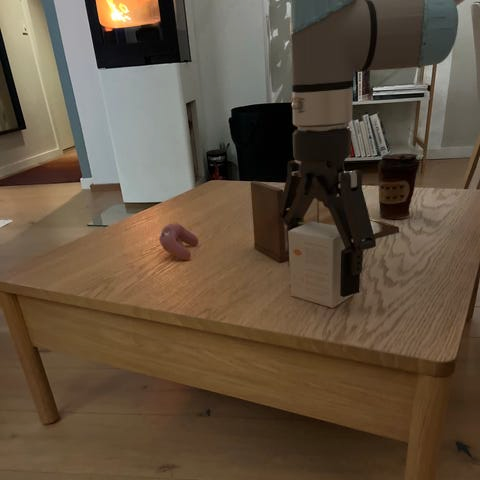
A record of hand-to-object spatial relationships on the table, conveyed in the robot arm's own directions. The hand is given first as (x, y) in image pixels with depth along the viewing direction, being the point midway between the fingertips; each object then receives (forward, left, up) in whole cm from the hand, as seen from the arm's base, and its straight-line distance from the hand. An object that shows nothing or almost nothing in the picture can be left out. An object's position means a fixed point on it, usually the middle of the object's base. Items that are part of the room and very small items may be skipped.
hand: (321, 278), depth 71 cm
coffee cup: (+25, -37, -3) cm, 45 cm away
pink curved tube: (+33, +11, -3) cm, 35 cm away
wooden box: (+21, -16, -3) cm, 27 cm away
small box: (0, 0, -3) cm, 3 cm away
